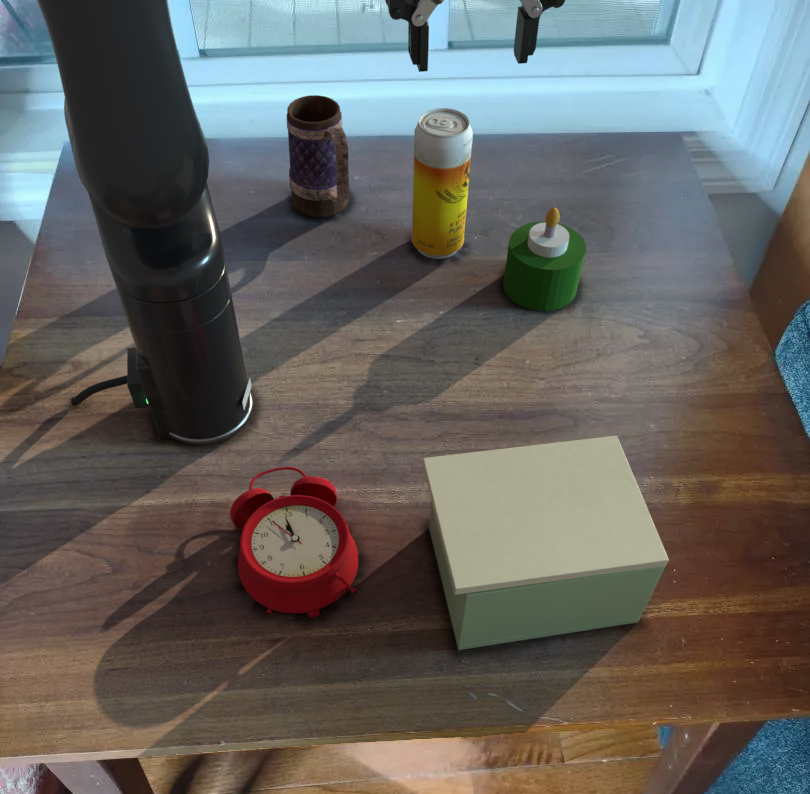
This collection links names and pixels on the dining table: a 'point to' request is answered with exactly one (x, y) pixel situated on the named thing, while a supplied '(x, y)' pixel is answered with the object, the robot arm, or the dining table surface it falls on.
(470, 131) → the beer can
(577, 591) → the chest
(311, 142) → the mug
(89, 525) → the dining table surface
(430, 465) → the lid
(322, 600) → the alarm clock
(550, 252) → the candle
